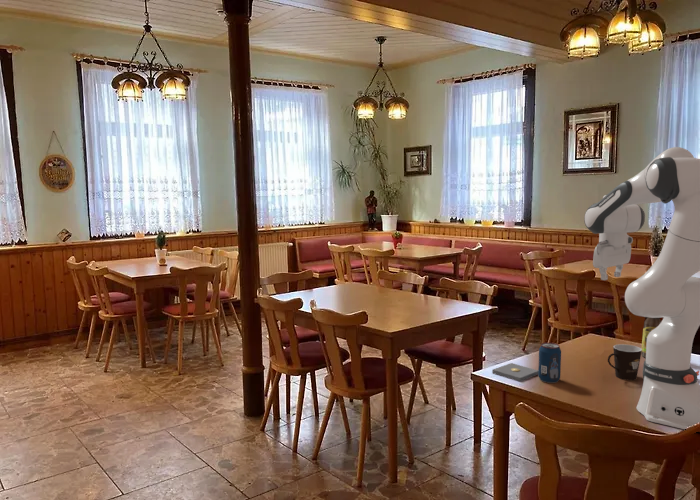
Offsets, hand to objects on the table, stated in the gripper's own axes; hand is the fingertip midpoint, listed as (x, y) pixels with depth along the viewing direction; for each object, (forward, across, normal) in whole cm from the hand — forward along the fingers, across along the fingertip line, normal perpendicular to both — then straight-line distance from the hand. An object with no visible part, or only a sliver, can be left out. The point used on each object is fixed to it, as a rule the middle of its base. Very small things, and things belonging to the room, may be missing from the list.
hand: (610, 278), depth 203 cm
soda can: (+31, -31, +4) cm, 44 cm away
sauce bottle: (+31, +19, -7) cm, 37 cm away
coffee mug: (+31, -10, -10) cm, 34 cm away
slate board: (+31, -34, +15) cm, 48 cm away
